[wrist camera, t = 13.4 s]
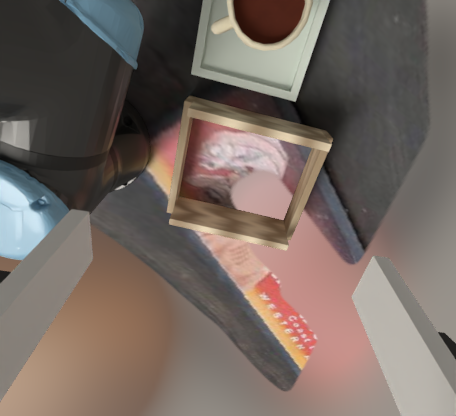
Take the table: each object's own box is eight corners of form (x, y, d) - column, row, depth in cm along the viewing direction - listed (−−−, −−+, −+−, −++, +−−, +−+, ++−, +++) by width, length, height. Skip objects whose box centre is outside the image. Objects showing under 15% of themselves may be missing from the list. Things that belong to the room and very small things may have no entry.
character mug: (230, 61, 39) (223, 73, 27) (208, -2, 35) (191, -18, 24) (315, 25, 36) (346, 21, 25) (299, -46, 33) (328, -87, 22)
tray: (193, 72, 40) (191, 74, 39) (221, -98, 32) (220, -106, 30) (293, 98, 41) (295, 101, 40) (346, -60, 33) (351, -65, 31)
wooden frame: (172, 199, 50) (162, 222, 44) (189, 95, 42) (180, 105, 36) (287, 226, 52) (292, 252, 46) (326, 130, 43) (339, 146, 37)
